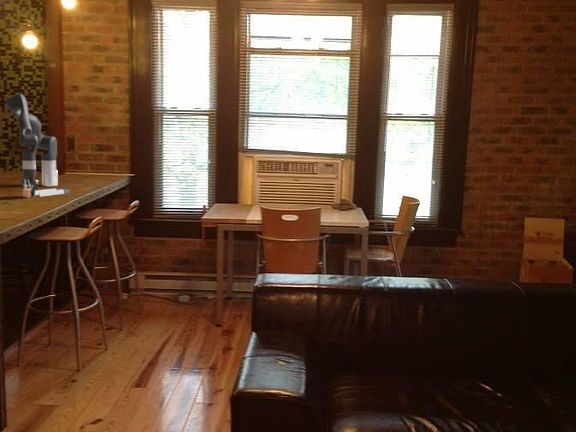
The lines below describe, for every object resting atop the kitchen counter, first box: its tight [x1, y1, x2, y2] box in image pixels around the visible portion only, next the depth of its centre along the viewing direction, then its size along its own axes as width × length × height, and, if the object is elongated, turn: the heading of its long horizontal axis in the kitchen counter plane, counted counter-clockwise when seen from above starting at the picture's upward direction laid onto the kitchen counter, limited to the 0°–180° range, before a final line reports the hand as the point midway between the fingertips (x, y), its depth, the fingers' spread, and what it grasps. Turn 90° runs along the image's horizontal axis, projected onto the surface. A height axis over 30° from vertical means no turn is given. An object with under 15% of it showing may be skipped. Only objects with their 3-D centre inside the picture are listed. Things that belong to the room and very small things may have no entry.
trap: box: [56, 188, 71, 195], centre depth 426 cm, size 5×8×2 cm, turn 59°
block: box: [22, 188, 32, 199], centre depth 404 cm, size 4×4×4 cm
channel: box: [35, 187, 64, 198], centre depth 416 cm, size 18×8×2 cm, turn 149°
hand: (30, 196), depth 405 cm, fingers closed on block, 4 cm apart
